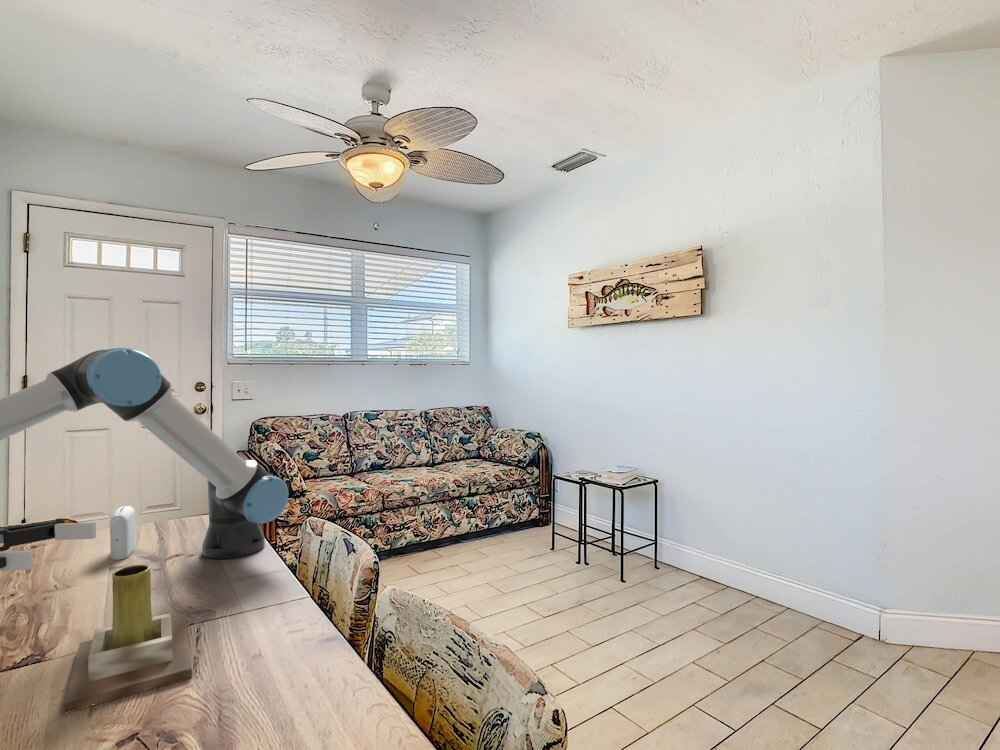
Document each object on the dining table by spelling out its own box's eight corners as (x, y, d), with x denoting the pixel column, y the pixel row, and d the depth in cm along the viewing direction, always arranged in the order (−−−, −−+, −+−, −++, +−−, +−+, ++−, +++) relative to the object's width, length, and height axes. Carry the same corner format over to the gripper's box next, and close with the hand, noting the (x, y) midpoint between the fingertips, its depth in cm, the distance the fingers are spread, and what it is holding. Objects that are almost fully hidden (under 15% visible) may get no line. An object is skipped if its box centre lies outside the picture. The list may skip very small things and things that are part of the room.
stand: (185, 626, 103) (185, 600, 103) (191, 677, 86) (191, 646, 86) (80, 651, 94) (79, 623, 94) (64, 713, 77) (63, 679, 77)
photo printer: (128, 559, 139) (127, 511, 138) (108, 561, 137) (107, 513, 137) (138, 546, 148) (137, 501, 148) (119, 548, 147) (118, 503, 146)
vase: (163, 648, 92) (161, 566, 92) (128, 667, 86) (125, 579, 86) (137, 642, 94) (136, 561, 94) (101, 660, 88) (99, 574, 88)
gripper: (-1, 544, 100) (116, 540, 101) (-158, 607, 75) (-1, 601, 76) (-3, 504, 100) (114, 500, 101) (-162, 554, 75) (-4, 549, 76)
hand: (65, 544), depth 89 cm, fingers open, 13 cm apart
